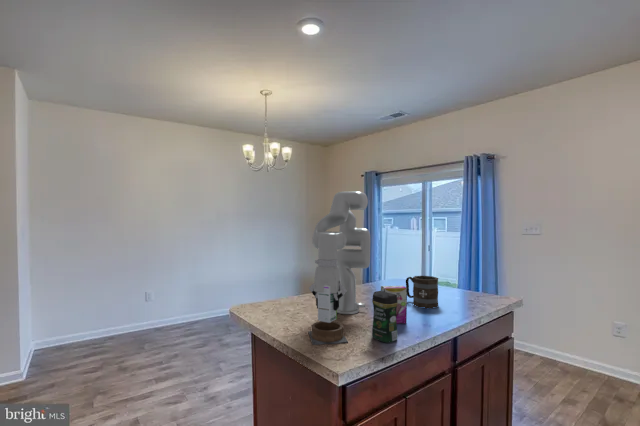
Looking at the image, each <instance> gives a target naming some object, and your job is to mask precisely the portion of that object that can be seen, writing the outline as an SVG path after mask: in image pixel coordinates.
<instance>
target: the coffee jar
mask: <svg viewBox="0 0 640 426" xmlns="http://www.w3.org/2000/svg"><path fill="white" fill-rule="evenodd" d="M371 300H372V301H371V302H372V306H373V316H372V317H373V320H372V330H371V331H372V333H371V336H372V338H373V339H375V340H377V341H380V342H383V343H387V344H388V343H394V342H396V341H397V340H398V324H397V322H396V308H397V304H398V301H397V295H396V294H392V293H388V292H384V291H381V290H377V291H374V292H373V293H372V299H371Z"/></svg>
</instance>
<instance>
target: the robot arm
mask: <svg viewBox="0 0 640 426" xmlns="http://www.w3.org/2000/svg"><path fill="white" fill-rule="evenodd" d="M332 198H333V199H332V203H331V206H330V210H329V213H327V214H326V215H325V216H323V217H322V218H321V219H320V220H319V221H318V222H317V223H316V225H315V227H314V230H313V233H312V240H311V242H312V246H313V247H314V248H315V249H318V254H317V255H318V256H317V257H318V258H317V259H316V260H314V263H315V264H317V266H316V267H315V272H314V280H313V283H312V284H311V285H310V286H309V287H308V289H309V291H310V292H311V294H312V295H313V296H314V298H315V306H316V309H317V310H318V292H324V287H323V286H325V285H329V286H330V293H331V294H333V295H334V297H335V300H334V310H335V311H336V310H337V314H340V315H355V314H358V313H359V312H360V308H366V303H362V302H357V276H356V274H355V272H354V271H353V269H368V268H369V266H370V264H371V233H370V230H369V229H367V228H365V227H357V218H356V216H355V214H354V213H353V212H352V211H365V210H366V209H367V207H368V205H369V200H368V196H367V194H366V193H365V192H362V191H338V192H337V193H335V194H334V196H333V197H332ZM338 226H339V231H328V230H330V229H333V228H336V227H338ZM345 247H354V248H345ZM355 247H358V248H359V247H360V249H357V248H356V249H355Z"/></svg>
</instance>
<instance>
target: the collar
mask: <svg viewBox="0 0 640 426" xmlns="http://www.w3.org/2000/svg"><path fill="white" fill-rule="evenodd" d="M344 331H345V330H344V325H343V323H340V322H338V321H332V322H331V323H327V322H322V321H316V322H314V323H313V324H311V330H308V335H309V338H310V341H311V344H312V346H314V345H315V346H316V345H332V344H333V345H334V344H336V345H337V344H348V343H349V340H348V339H347V338H346V336H345V333H344Z"/></svg>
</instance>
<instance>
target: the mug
mask: <svg viewBox="0 0 640 426" xmlns="http://www.w3.org/2000/svg"><path fill="white" fill-rule="evenodd" d="M409 279H410V280H411V283H413V285H412V286H413V288H412V294H413V295H410V294H411V293H410V285H409ZM438 284H439V277H435V276H431V275H414V276H413V277H411V276H408V277H406V279H405V287H406V288H407V298H410V299H413V300H412V301H413V302H412V305H413V304H414V305H416V306H418V307H417V308H419V307H425V308H424V309H427V308H431V309H434V308H433V307H437V306H438V307H439V285H438ZM414 305H413V306H414ZM416 306H415V307H416ZM438 307H437V308H438Z"/></svg>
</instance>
